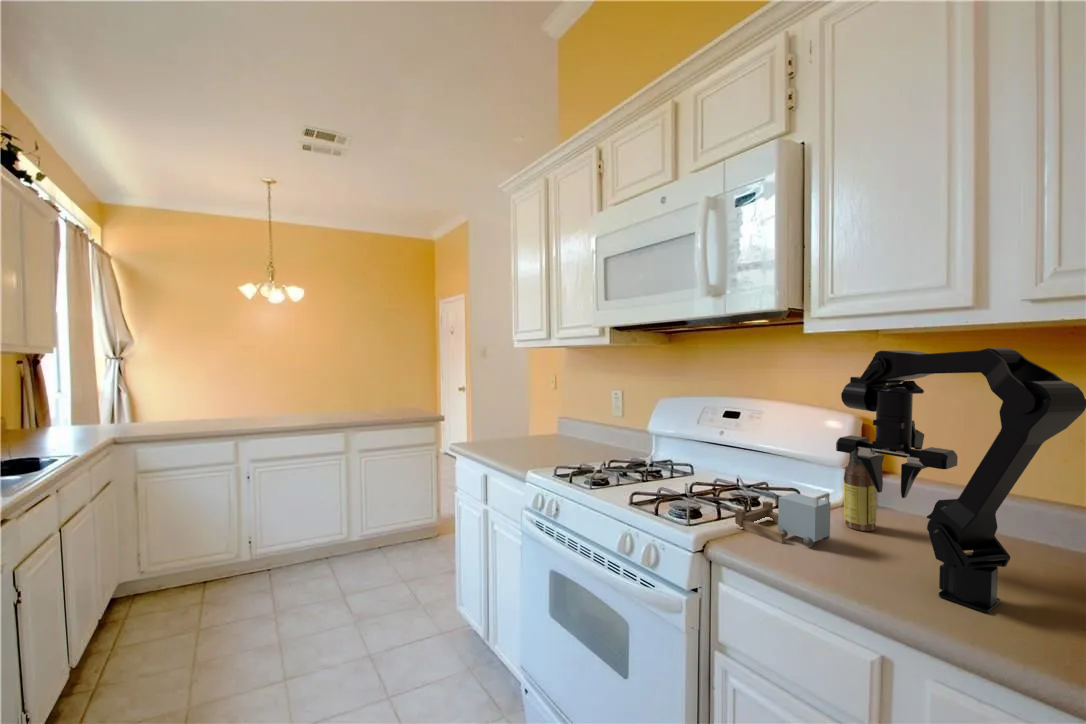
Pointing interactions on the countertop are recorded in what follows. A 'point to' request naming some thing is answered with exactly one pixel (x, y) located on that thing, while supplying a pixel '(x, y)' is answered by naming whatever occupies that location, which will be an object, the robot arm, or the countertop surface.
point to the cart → (805, 517)
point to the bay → (748, 524)
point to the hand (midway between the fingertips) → (891, 494)
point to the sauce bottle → (859, 496)
